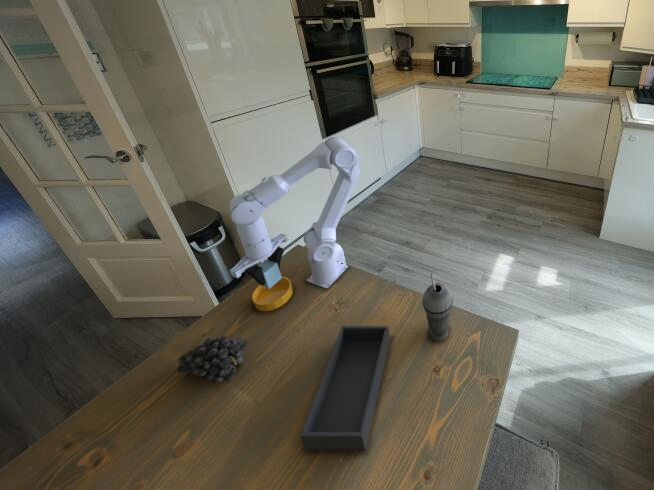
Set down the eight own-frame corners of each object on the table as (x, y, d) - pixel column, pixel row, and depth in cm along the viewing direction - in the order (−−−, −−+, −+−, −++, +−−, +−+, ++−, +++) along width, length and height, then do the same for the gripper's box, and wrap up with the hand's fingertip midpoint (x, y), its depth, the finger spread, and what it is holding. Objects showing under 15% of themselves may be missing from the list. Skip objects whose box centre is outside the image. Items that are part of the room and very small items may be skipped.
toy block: (271, 273, 87) (266, 259, 85) (282, 277, 86) (277, 263, 84) (258, 284, 84) (252, 269, 81) (269, 289, 82) (263, 273, 80)
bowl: (276, 280, 93) (274, 273, 92) (300, 289, 90) (298, 282, 89) (247, 305, 85) (243, 298, 84) (272, 316, 82) (269, 309, 81)
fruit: (157, 350, 65) (225, 354, 64) (194, 324, 73) (254, 327, 72) (161, 388, 66) (228, 392, 65) (197, 358, 74) (257, 361, 73)
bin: (345, 339, 77) (341, 325, 75) (390, 339, 77) (388, 326, 75) (305, 450, 58) (299, 436, 56) (365, 450, 58) (361, 436, 56)
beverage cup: (449, 349, 75) (448, 289, 67) (420, 343, 76) (415, 284, 68) (456, 322, 81) (455, 264, 73) (429, 317, 83) (426, 260, 74)
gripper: (269, 217, 86) (281, 255, 92) (214, 253, 74) (232, 293, 79) (288, 223, 84) (299, 261, 89) (235, 261, 71) (252, 302, 77)
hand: (269, 277), depth 84 cm, fingers closed on toy block, 4 cm apart
